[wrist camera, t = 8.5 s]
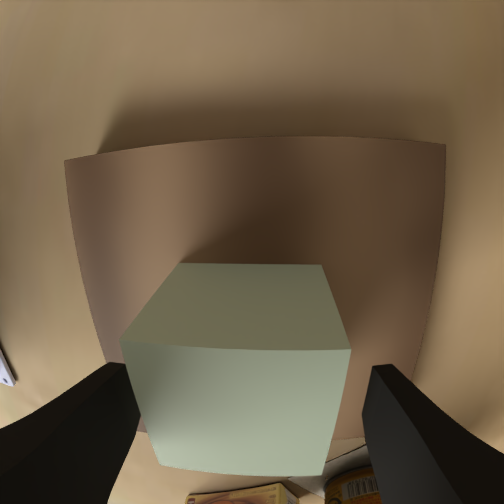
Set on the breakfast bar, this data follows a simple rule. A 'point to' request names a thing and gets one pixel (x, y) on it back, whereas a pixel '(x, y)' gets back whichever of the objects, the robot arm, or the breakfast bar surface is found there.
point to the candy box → (247, 496)
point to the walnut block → (270, 232)
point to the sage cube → (239, 368)
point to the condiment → (344, 480)
